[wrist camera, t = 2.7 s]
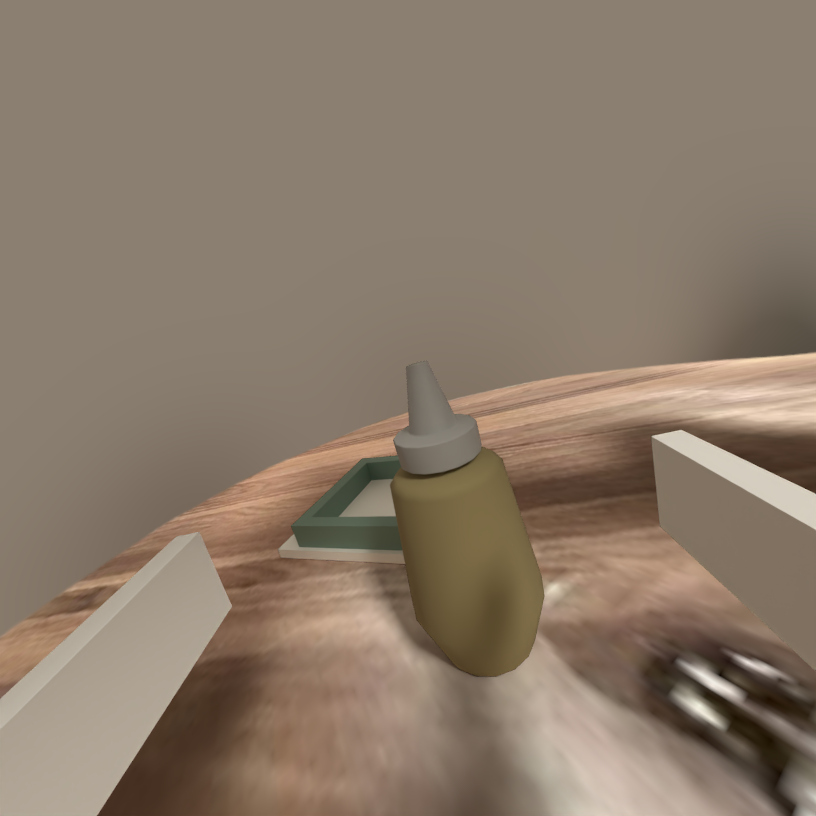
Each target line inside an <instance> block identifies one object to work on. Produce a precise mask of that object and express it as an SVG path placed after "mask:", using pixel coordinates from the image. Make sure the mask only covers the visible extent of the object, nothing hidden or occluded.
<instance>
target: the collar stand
mask: <svg viewBox="0 0 816 816" xmlns="http://www.w3.org/2000/svg"><path fill="white" fill-rule="evenodd" d="M400 467H401V465H400V462H399V458H398V456H387V457H376V458H364V459H361V460H360V461H359V462H358V463H357V464H356V465H355V466H354V467H353V468H352V469H351V470H350V471H349V472H348V473H346V474H345V475H344V476H343V477H342V478H341V479H340V480H339V481H338V482H337V483H336V484H335V485H334V486H333V487H332V488H331V489H330V490H329V491H327V492H326V493H325V494H324V495H323V496H322V497H321V498H320V499H319V500H318V501H317V502H316V503H315V504H314V505H313V506H312V507H311V508H310V509H308V510H307V511H306V512H305V513H304V514H303V515H302V516H301V517H300V518H299V519H298V520H297V521H296V522H295V523H294V524H293V525H292V526H291V527H292V530H293V532H294V534H293V535H292V536H291V537H290V538H289V539H288V540H287V541H286V542H285V543H284V544H283V545H282V546H281V547H280V548H279V549H278V552H279V554H280V557H281V558H296V559H316V560H336V561H355V562H375V563H395V564H405V561H404V556H403V550H402V545H401V540H400V535H399V530H398V525H397V519H396V514H395V509H394V504H393V499H392V494H391V488H390V483H391V482H392V480H393V478H394V476H395V474H396V473H397V471H398V470H399V469H400Z"/></svg>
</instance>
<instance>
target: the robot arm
mask: <svg viewBox="0 0 816 816" xmlns="http://www.w3.org/2000/svg"><path fill="white" fill-rule="evenodd" d="M651 441H652V451H653V461H654V471H655V481H656V491H657V501H658V512H659V522H660V527H661V528H662V529H663V530H665V531H666V532H667V533H668V534H669V535H670V536H671V537H672V538H673V539H674V540H675V541H676V542H677V543H679V544H680V545H681V546H682V547H683V548H684V549H685V550H686V551H687V552H688V553H689V554H690V555H691V556H693V557H694V558H695V559H696V560H697V561H698V562H699V563H700V564H701V565H702V566H703V567H704V568H705V569H706V570H708V571H709V572H710V573H711V574H712V575H713V576H714V577H715V578H716V579H717V580H718V581H719V582H720V583H722V584H723V585H724V586H725V587H726V588H727V589H728V590H729V591H730V592H731V593H732V594H733V595H734V596H736V597H737V598H738V599H739V600H740V601H741V602H742V603H743V604H744V605H745V606H746V607H747V608H748V609H750V610H751V611H752V612H753V613H754V614H755V615H756V616H757V617H758V618H759V619H760V620H761V621H762V622H763V623H765V624H766V625H767V626H768V627H769V628H770V629H771V630H772V631H773V632H774V633H775V634H776V635H777V636H779V637H780V638H781V639H782V640H783V641H784V642H785V643H786V644H787V645H788V646H789V647H790V648H791V649H793V650H794V651H795V652H796V653H797V654H798V655H799V656H800V657H801V658H802V659H803V660H804V661H805V662H807V663H808V664H809V665H810V666H811V667H812V668H813V669H814V670H815V671H816V494H815V493H813V492H811V491H809V490H807V489H804V488H802V487H800V486H798V485H796V484H794V483H792V482H790V481H788V480H786V479H783V478H781V477H779V476H777V475H775V474H773V473H771V472H769V471H767V470H765V469H763V468H760V467H758V466H756V465H754V464H752V463H750V462H748V461H746V460H744V459H742V458H739V457H737V456H735V455H733V454H731V453H729V452H727V451H725V450H723V449H721V448H718V447H716V446H714V445H712V444H710V443H708V442H706V441H704V440H702V439H700V438H697V437H695V436H693V435H691V434H689V433H687V432H685V431H683V430H678V431H673V432H668V433H664V434H659V435H654V436H651ZM231 607H232V605H231V603H230V601H229V598H228V596H227V594H226V592H225V589H224V587H223V585H222V582H221V580H220V578H219V576H218V573H217V571H216V569H215V567H214V564H213V562H212V560H211V557H210V555H209V553H208V551H207V548H206V546H205V544H204V542H203V539H202V537H201V535H200V533H199V532H196V533H192V534H187V535H182V536H178V537H175V538H174V539H173V540H172V541H171V542H170V543H169V544H168V545H167V546H166V547H165V548H163V549H162V550H161V551H160V552H159V553H158V554H157V555H156V556H155V557H154V558H153V559H152V560H150V561H149V562H148V563H147V564H146V565H145V566H144V567H143V568H142V569H141V570H140V571H139V572H137V573H136V574H135V575H134V576H133V577H132V578H131V579H130V580H129V581H128V582H127V583H126V584H124V585H123V586H122V587H121V588H120V589H119V590H118V591H117V592H116V593H115V594H114V595H112V596H111V597H110V598H109V599H108V600H107V601H106V602H105V603H104V604H103V605H102V606H101V607H99V608H98V609H97V610H96V611H95V612H94V613H93V614H92V615H91V616H90V617H89V618H88V619H86V620H85V621H84V622H83V623H82V624H81V625H80V626H79V627H78V628H77V629H76V630H75V631H73V632H72V633H71V634H70V635H69V636H68V637H67V638H66V639H65V640H64V641H63V642H61V643H60V644H59V645H58V646H57V647H56V648H55V649H54V650H53V651H52V652H51V653H50V654H48V655H47V656H46V657H45V658H44V659H43V660H42V661H41V662H40V663H39V664H38V665H37V666H35V667H34V668H33V669H32V670H31V671H30V672H29V673H28V674H27V675H26V676H25V677H24V678H22V679H21V680H20V681H19V682H18V683H17V684H16V685H15V686H14V687H13V688H12V689H10V690H9V691H8V692H7V693H6V694H5V695H4V696H3V697H2V698H1V699H0V816H97V815H98V813H99V812H100V810H101V809H102V807H103V806H104V804H105V803H106V801H107V799H108V798H109V796H110V795H111V793H112V792H113V790H114V789H115V787H116V785H117V784H118V782H119V781H120V779H121V778H122V776H123V775H124V773H125V772H126V770H127V768H128V767H129V765H130V764H131V762H132V761H133V759H134V758H135V756H136V754H137V753H138V751H139V750H140V748H141V747H142V745H143V744H144V742H145V741H146V739H147V737H148V736H149V734H150V733H151V731H152V730H153V728H154V727H155V725H156V723H157V722H158V720H159V719H160V717H161V716H162V714H163V713H164V711H165V710H166V708H167V706H168V705H169V703H170V702H171V700H172V699H173V697H174V696H175V694H176V692H177V691H178V689H179V688H180V686H181V685H182V683H183V682H184V680H185V679H186V677H187V675H188V674H189V672H190V671H191V669H192V668H193V666H194V665H195V663H196V661H197V660H198V658H199V657H200V655H201V654H202V652H203V651H204V649H205V648H206V646H207V644H208V643H209V641H210V640H211V638H212V637H213V635H214V634H215V632H216V630H217V629H218V627H219V626H220V624H221V623H222V621H223V620H224V618H225V617H226V615H227V613H228V612H229V610H230V609H231Z"/></svg>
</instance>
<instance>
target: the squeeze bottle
mask: <svg viewBox="0 0 816 816" xmlns="http://www.w3.org/2000/svg"><path fill="white" fill-rule="evenodd" d="M406 375H407V393H408V413H409V426H407V427H406V428H404V429H403V430H401V431H400V432H398V434H397V435H396V436H395V438H394V440H393V441H394V445H395V448H396V451H397V455H398V458H399V462H400V465H401V467H400V469H399V470H398V471H397V473H396V474H395V476H394V478H393V480H392V482H391V483H390V488H391V494H392V499H393V504H394V509H395V514H396V519H397V525H398V530H399V535H400V540H401V545H402V550H403V556H404V561H405V566H406V571H407V576H408V581H409V587H410V592H411V597H412V602H413V606H414V610H415V615H416V619H417V621H418V622H419V623H420V625H421V626H422V627H423V628H424V629H425V631H426V632H427V633H428V634H429V635H430V636H431V638H432V639H433V640H434V641H435V642H436V644H437V645H438V646H439V647H440V648H441V649H442V651H443V652H444V653H445V654H446V655H447V656H448V658H449V659H450V660H451V661H452V662H453V663H454V664H455V665H456V666H457V667H458V668H459V669H461V670H463V671H466V672H468V673H470V674H472V675H475V676H498V675H501V674H504V673H506V672H509V671H512V670H514V669H516V668H517V667H518V666H519V665H520V664H521V663H522V662H523V661H524V660H525V659H526V658H527V657H528V656H529V654H530V652H531V649H532V646H533V644H534V641H535V638H536V633H537V628H538V624H539V619H540V614H541V610H542V605H543V600H544V589H543V583H542V576H541V573H540V570H539V567H538V564H537V561H536V558H535V555H534V552H533V549H532V546H531V543H530V540H529V537H528V534H527V531H526V528H525V525H524V522H523V519H522V516H521V513H520V510H519V507H518V504H517V501H516V498H515V495H514V492H513V489H512V486H511V483H510V481H509V478H508V475H507V472H506V469H505V466H504V463H503V460H502V458H501V457H499V456H498V455H497V454H496V453H495V452H494V451H491V450H489V449H487V448H485V447H481V445H482V444H481V439H480V435H479V431H478V426H477V422H476V420H475V419H474V418H472V417H471V416H470V415H464V414H454V413H453V411H452V409H451V407H450V405H449V403H448V401H447V399H446V398H445V395H444V393H443V391H442V389H441V387H440V385H439V384H438V381H437V379H436V377H435V375H434V373H433V371H432V369H431V367H430V365H429V363H428V361H423V362H418V363H414V364H411V365H409V366H407V367H406Z"/></svg>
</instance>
